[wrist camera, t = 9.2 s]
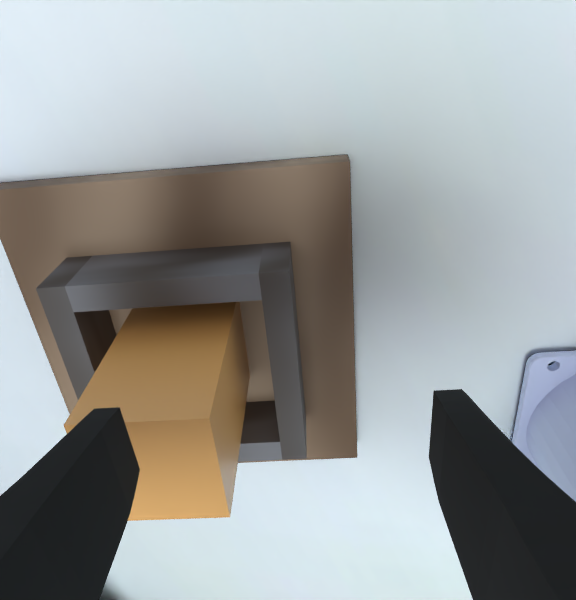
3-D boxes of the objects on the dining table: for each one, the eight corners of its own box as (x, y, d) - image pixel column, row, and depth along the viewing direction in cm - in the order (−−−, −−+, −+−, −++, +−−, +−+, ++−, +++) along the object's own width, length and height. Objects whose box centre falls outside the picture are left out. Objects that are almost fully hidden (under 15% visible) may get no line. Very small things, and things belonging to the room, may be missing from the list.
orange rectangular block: (238, 293, 19) (209, 418, 13) (250, 375, 21) (229, 516, 15) (137, 299, 19) (63, 425, 13) (158, 379, 21) (102, 521, 15)
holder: (347, 154, 18) (357, 181, 14) (355, 441, 24) (363, 501, 21) (-4, 183, 18) (-65, 214, 15) (98, 453, 25) (70, 513, 22)
